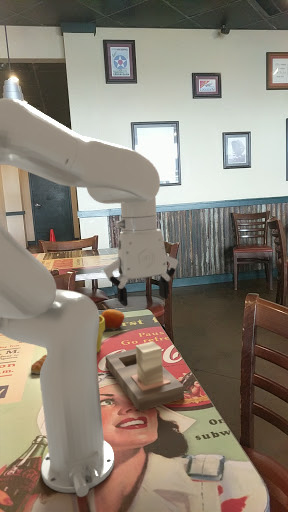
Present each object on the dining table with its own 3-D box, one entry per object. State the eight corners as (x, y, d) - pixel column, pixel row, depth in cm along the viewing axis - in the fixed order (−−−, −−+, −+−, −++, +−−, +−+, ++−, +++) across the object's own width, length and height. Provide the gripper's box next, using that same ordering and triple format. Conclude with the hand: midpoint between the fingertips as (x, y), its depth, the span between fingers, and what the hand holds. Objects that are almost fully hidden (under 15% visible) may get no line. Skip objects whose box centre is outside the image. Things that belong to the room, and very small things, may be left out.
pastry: (39, 379, 99) (37, 365, 98) (26, 371, 103) (24, 358, 103) (69, 365, 105) (67, 352, 105) (55, 359, 110) (54, 347, 109)
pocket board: (184, 398, 85) (183, 384, 85) (139, 411, 81) (138, 397, 81) (143, 357, 107) (142, 346, 107) (106, 366, 103) (105, 354, 103)
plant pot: (101, 359, 108) (98, 326, 106) (67, 358, 109) (63, 326, 108) (110, 344, 118) (108, 314, 116) (78, 343, 119) (76, 314, 118)
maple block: (163, 380, 87) (161, 348, 86) (145, 385, 85) (143, 352, 84) (154, 372, 91) (153, 341, 90) (137, 377, 89) (135, 345, 88)
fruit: (95, 330, 126) (98, 306, 129) (103, 333, 133) (106, 311, 136) (117, 331, 124) (120, 307, 126) (125, 335, 131) (128, 312, 134)
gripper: (106, 229, 75) (112, 312, 78) (183, 222, 81) (186, 298, 84) (96, 227, 82) (102, 303, 85) (167, 220, 88) (171, 291, 91)
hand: (144, 300), depth 85 cm, fingers open, 9 cm apart
